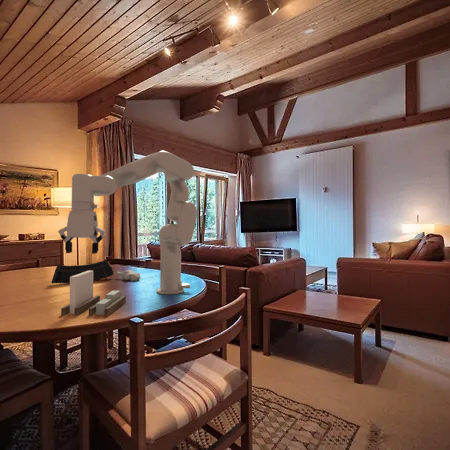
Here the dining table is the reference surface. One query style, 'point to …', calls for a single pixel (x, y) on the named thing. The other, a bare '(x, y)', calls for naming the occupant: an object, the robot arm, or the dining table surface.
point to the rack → (93, 306)
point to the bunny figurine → (129, 275)
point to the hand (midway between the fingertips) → (81, 253)
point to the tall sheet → (80, 289)
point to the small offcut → (102, 306)
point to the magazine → (99, 271)
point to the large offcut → (113, 296)
